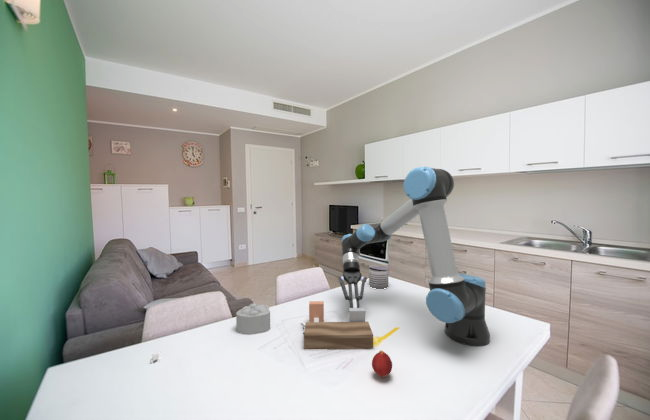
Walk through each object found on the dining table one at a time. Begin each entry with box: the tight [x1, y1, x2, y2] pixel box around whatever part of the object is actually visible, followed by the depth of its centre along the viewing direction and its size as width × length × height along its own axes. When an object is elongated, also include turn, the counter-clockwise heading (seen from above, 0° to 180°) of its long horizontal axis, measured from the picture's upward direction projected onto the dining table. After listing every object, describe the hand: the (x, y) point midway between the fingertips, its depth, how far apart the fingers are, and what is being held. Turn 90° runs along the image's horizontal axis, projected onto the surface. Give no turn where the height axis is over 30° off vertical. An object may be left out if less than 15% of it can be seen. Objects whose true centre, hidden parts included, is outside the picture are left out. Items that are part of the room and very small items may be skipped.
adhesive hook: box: [149, 351, 162, 365], centre depth 87 cm, size 3×3×3 cm
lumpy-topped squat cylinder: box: [235, 302, 271, 336], centre depth 108 cm, size 10×13×9 cm
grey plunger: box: [348, 307, 366, 322], centre depth 101 cm, size 12×6×8 cm, turn 1°
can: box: [368, 265, 390, 290], centre depth 158 cm, size 11×11×12 cm
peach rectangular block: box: [308, 300, 325, 322], centre depth 107 cm, size 12×6×8 cm, turn 1°
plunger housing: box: [303, 321, 374, 350], centre depth 98 cm, size 10×24×5 cm, turn 91°
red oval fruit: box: [371, 349, 393, 378], centre depth 79 cm, size 6×6×8 cm
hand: (355, 315), depth 108 cm, fingers closed
